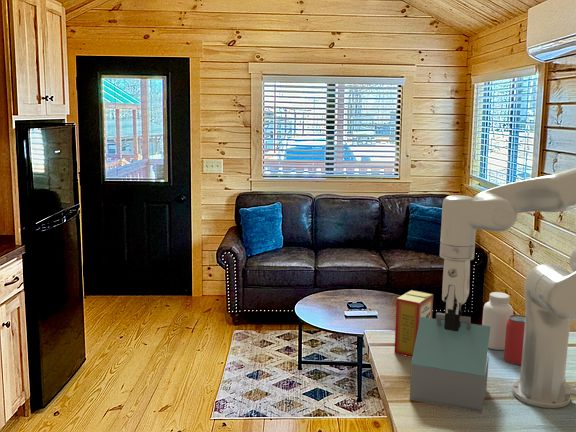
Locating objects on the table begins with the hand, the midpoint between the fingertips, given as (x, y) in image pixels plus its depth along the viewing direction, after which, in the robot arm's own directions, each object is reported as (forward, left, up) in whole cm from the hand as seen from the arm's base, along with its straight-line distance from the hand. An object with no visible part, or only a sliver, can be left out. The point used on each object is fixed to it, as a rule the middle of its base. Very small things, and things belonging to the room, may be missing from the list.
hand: (452, 327), depth 140 cm
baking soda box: (+13, -23, -17) cm, 32 cm away
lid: (0, +1, -4) cm, 4 cm away
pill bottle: (-8, -36, -17) cm, 41 cm away
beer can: (-14, -27, -17) cm, 35 cm away
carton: (0, 0, -17) cm, 17 cm away
